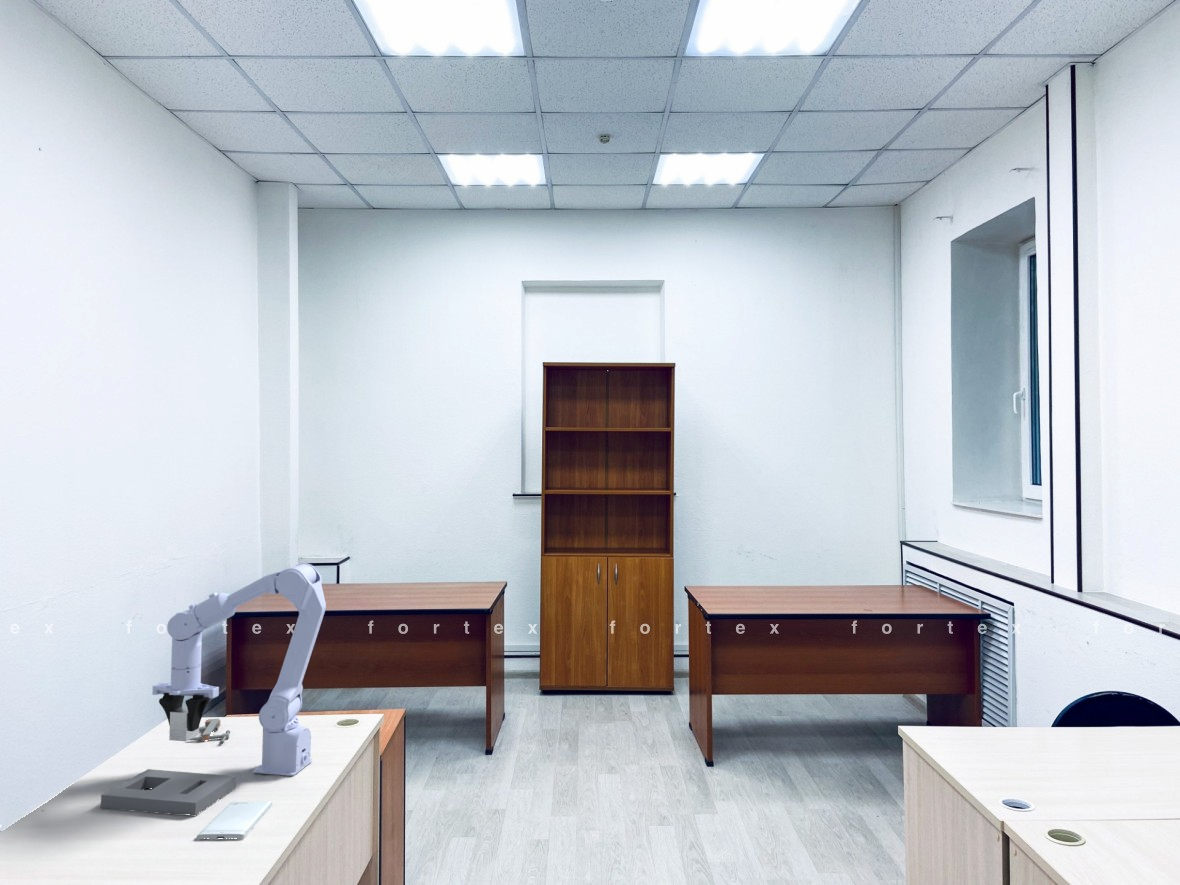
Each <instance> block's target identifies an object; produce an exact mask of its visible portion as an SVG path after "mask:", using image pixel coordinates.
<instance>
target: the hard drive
mask: <svg viewBox="0 0 1180 885" xmlns="http://www.w3.org/2000/svg"><path fill="white" fill-rule="evenodd" d="M271 807H272V808H273V801H270V800H269V801H268V800H267V801H264V800H263V801H261V800H259V801H258V800H257V801H255V800H254V801H250V800H249V801H231V802H229V803H228V804H227V805H226V806H225V807H224V808H223V809H222V810H221V811H220V812H219V813H218V814H217V815H216V816H215V817H214V818H212V819H211V821H210V822H209V823H208V824H207V825H206V826H205V827H204V828H203V829H202V830H201V831H200V832H199V833H198V834H197V835H196V840H197V839H204V838H205V839H207V838H209V839H218V838H223V839H226V838H227V839H229V838H230V839H231V838H233V839H234V838H237V839H244V840H245V838H246V837H247V836H248V835H249V834H250V833H251V832H250V830H252V831H253V829H254V828H255V827H256V826H257V825H258V824H259V823H260V822H259V821H261V820H262V819H263V818H264V817H265V816H266V815H267V814H268V813H269V812H270V811H271V809H272V808H271ZM266 813H267V814H266ZM265 814H266V815H265ZM264 815H265V816H264ZM263 816H264V817H263ZM262 817H263V818H262ZM261 818H262V819H261ZM258 822H259V823H258ZM257 823H258V824H257ZM256 824H257V825H256ZM255 825H256V826H255ZM254 826H255V827H254ZM253 827H254V828H253ZM252 828H253V829H252ZM249 832H250V833H249ZM248 833H249V834H248ZM247 834H248V835H247ZM246 835H247V836H246ZM245 836H246V837H245ZM244 837H245V838H244Z"/></svg>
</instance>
